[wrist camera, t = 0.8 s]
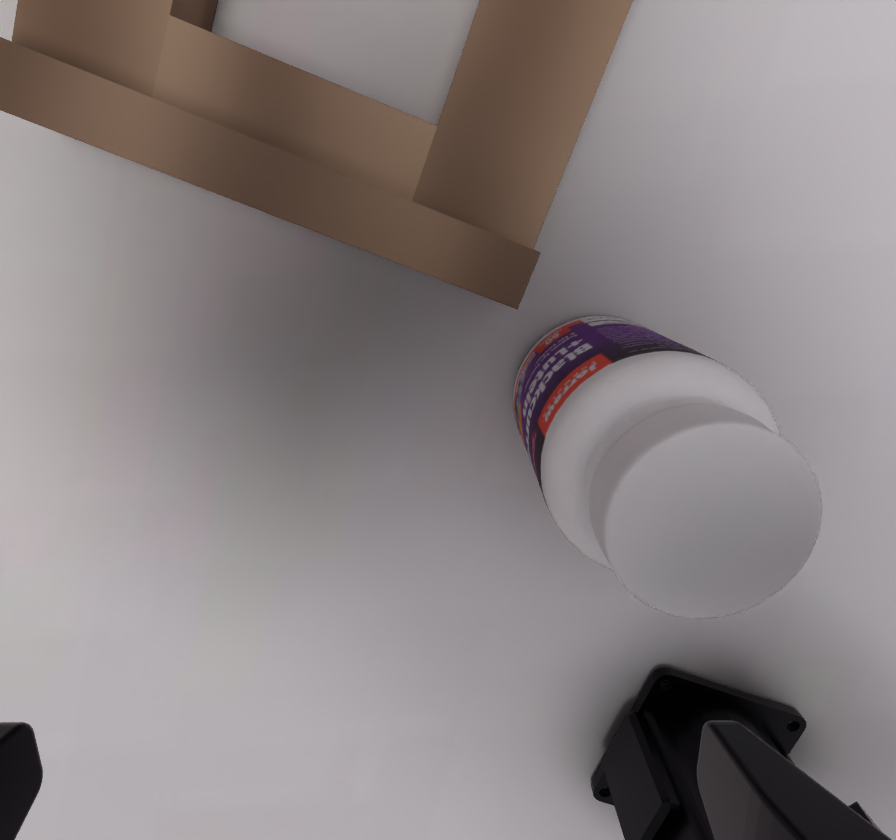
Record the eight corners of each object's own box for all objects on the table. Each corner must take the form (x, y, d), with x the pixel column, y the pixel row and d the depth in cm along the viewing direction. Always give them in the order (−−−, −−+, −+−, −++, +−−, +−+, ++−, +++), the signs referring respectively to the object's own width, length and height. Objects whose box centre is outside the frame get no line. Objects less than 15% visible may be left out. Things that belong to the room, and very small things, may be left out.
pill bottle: (531, 298, 19) (614, 353, 10) (692, 331, 20) (915, 414, 10) (494, 454, 21) (535, 628, 12) (643, 482, 21) (801, 673, 12)
